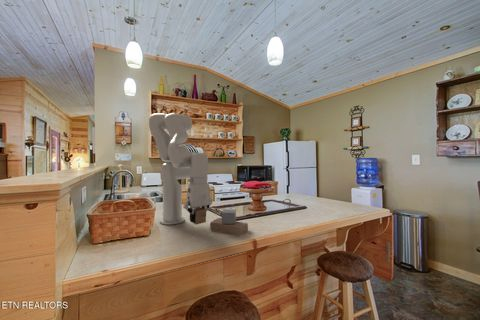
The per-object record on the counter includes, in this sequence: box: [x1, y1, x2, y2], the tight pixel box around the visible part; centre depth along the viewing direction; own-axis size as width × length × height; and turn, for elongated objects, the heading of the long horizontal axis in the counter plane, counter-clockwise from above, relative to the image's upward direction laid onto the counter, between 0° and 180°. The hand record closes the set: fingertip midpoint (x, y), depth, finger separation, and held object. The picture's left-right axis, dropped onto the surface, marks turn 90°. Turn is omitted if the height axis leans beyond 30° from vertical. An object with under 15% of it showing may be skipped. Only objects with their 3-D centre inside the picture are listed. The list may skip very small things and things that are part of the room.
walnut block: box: [189, 207, 207, 225], centre depth 101 cm, size 5×5×6 cm
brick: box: [209, 217, 249, 237], centre depth 105 cm, size 17×8×5 cm, turn 63°
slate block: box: [221, 209, 237, 224], centre depth 105 cm, size 6×6×5 cm
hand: (198, 220), depth 101 cm, fingers closed on walnut block, 5 cm apart
